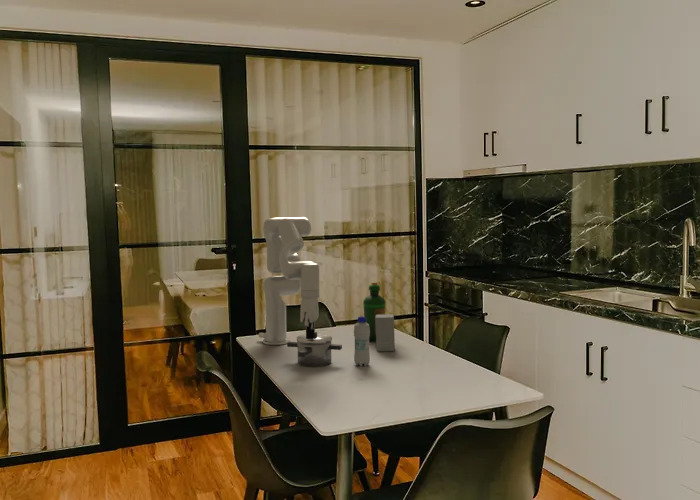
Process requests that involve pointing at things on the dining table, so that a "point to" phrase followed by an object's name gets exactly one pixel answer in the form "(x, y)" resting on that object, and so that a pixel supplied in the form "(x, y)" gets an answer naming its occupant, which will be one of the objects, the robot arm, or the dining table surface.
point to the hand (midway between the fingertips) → (310, 338)
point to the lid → (315, 339)
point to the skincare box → (385, 332)
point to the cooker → (314, 353)
